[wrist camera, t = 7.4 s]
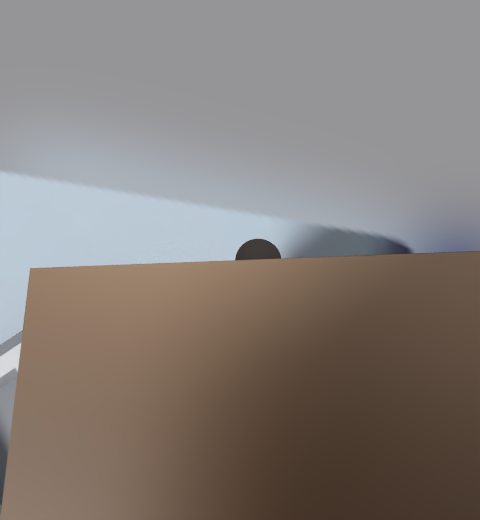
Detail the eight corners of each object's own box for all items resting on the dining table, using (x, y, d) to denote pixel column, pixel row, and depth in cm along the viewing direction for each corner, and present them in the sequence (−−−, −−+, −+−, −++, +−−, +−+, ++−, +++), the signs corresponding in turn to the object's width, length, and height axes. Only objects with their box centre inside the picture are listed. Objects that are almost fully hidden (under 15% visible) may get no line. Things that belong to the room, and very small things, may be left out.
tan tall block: (303, 403, 16) (682, 981, 2) (210, 405, 16) (-55, 963, 2) (295, 295, 17) (493, 177, 3) (209, 297, 17) (39, 197, 3)
